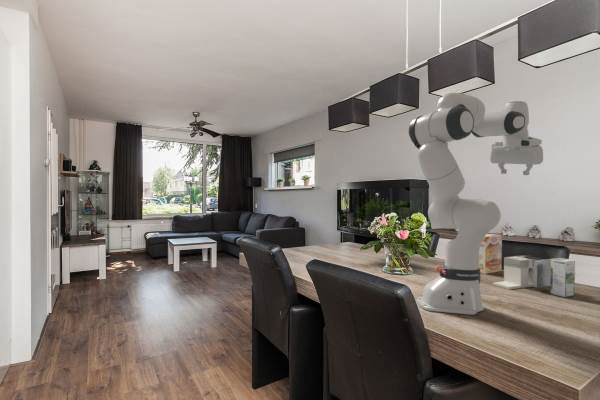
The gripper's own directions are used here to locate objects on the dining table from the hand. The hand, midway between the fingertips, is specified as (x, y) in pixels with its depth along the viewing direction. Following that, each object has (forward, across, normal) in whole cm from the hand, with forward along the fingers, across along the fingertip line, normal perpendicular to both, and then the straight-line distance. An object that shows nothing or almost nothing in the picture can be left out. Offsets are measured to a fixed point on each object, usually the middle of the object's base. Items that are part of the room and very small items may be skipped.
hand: (514, 174), depth 140 cm
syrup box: (+49, +19, +2) cm, 52 cm away
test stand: (+51, +2, +3) cm, 51 cm away
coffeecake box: (+56, -22, +14) cm, 62 cm away
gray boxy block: (+48, +8, +3) cm, 49 cm away
